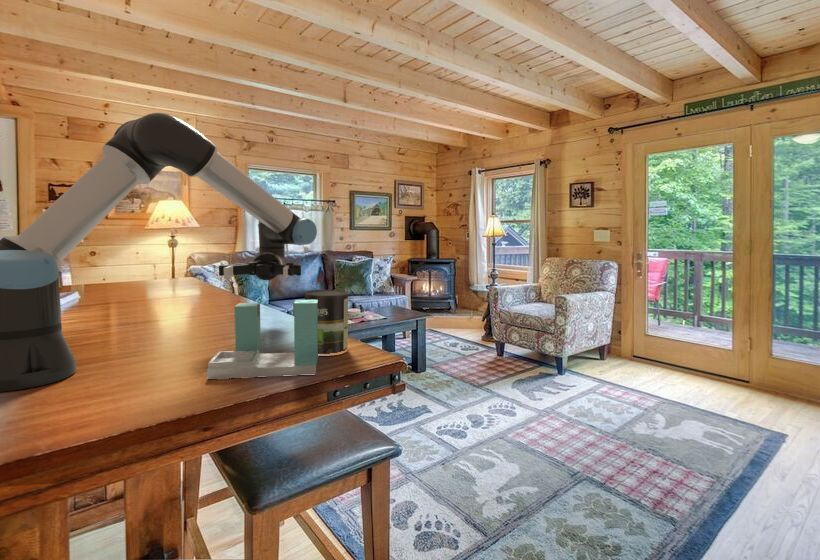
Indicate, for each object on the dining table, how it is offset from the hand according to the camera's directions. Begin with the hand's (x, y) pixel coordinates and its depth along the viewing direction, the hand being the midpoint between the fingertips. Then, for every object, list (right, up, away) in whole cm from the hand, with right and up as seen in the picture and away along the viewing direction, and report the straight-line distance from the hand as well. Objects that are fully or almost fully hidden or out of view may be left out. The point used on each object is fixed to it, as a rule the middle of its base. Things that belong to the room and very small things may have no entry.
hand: (255, 273), depth 104 cm
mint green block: (+1, -19, -8) cm, 21 cm away
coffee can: (+17, -19, -1) cm, 25 cm away
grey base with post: (+8, -20, -16) cm, 26 cm away
